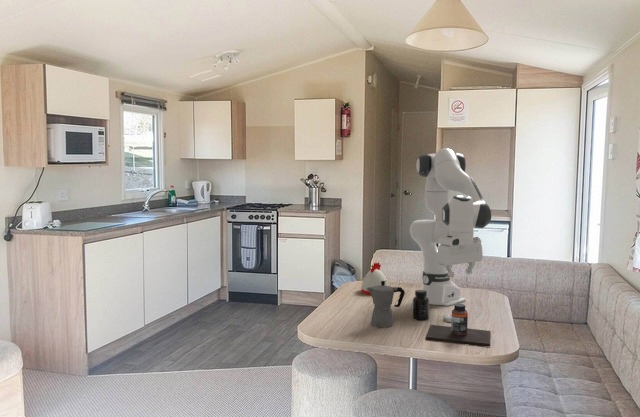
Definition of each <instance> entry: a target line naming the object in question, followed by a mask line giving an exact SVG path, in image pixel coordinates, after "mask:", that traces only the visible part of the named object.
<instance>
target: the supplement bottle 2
mask: <svg viewBox="0 0 640 417" xmlns="http://www.w3.org/2000/svg"><path fill="white" fill-rule="evenodd" d="M453 305H454V308H453V309H452V311H451V315H452V320H451V321H452V322H451V325H450V327H451V332H452V334H454V335H457V336H464V335H466V334H467V328H468V323H469V322H468V321H469V320H468V317H469V316H468V315H469V313H468V310H466V305H465V303H461V302H460V303H456V304H453Z"/></svg>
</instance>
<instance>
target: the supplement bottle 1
mask: <svg viewBox="0 0 640 417" xmlns="http://www.w3.org/2000/svg"><path fill="white" fill-rule="evenodd" d="M426 296H427V291H425V290H422V289H417V290H415V291H414V297H412V319H413V320H415V321H419V322H423V321H428V320H429V319H430V318H429V316H430V304H429V299H428V298H427V297H426Z"/></svg>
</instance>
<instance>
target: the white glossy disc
mask: <svg viewBox="0 0 640 417" xmlns="http://www.w3.org/2000/svg"><path fill="white" fill-rule="evenodd" d="M451 320H452V314H445V315H443V321H445V322H447V323H451V322H452V321H451Z"/></svg>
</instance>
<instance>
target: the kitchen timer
mask: <svg viewBox="0 0 640 417" xmlns="http://www.w3.org/2000/svg"><path fill="white" fill-rule="evenodd" d="M381 267H382V265H381V264H380V262H374V263H373V265H371V268H370V270H369V271H368V272H367V273H366V275H364V277H363V278H362V284H361V291H362V292H361V293H362V294H364V293H365V295H370V296H371V294H370V292H369V291H368V290H367V288H369V287H374V286H378V285H382V284H381V281H385V285H386V286H389V280H388V279H387V277H386V276H385V274H384V273H383V272H382V271H381Z"/></svg>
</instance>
